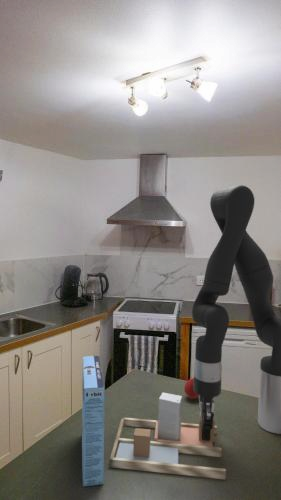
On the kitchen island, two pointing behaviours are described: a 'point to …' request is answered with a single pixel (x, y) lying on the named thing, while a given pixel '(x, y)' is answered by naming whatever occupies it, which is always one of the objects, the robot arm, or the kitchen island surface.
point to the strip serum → (190, 435)
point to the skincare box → (169, 417)
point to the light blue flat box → (92, 422)
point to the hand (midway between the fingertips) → (205, 435)
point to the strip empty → (146, 449)
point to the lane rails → (182, 448)
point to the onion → (190, 389)
